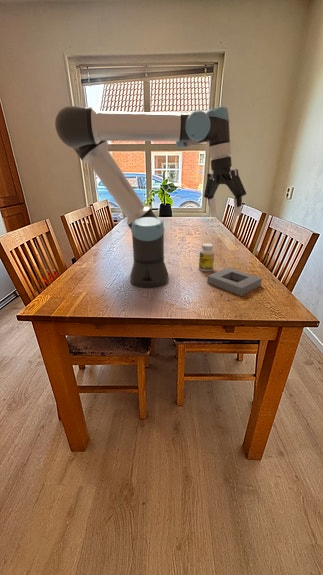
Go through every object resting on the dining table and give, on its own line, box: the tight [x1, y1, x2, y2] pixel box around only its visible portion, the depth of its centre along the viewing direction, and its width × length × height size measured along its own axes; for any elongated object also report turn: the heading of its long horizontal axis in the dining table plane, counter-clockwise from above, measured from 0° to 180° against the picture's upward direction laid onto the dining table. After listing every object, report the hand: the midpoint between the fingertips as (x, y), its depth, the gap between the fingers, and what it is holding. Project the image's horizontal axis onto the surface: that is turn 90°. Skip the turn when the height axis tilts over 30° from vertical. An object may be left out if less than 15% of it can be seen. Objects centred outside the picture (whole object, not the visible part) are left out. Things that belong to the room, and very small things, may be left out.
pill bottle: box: [198, 242, 215, 272], centre depth 107 cm, size 6×6×11 cm
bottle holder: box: [206, 267, 263, 297], centre depth 94 cm, size 13×15×3 cm
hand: (225, 214), depth 102 cm, fingers open, 13 cm apart
